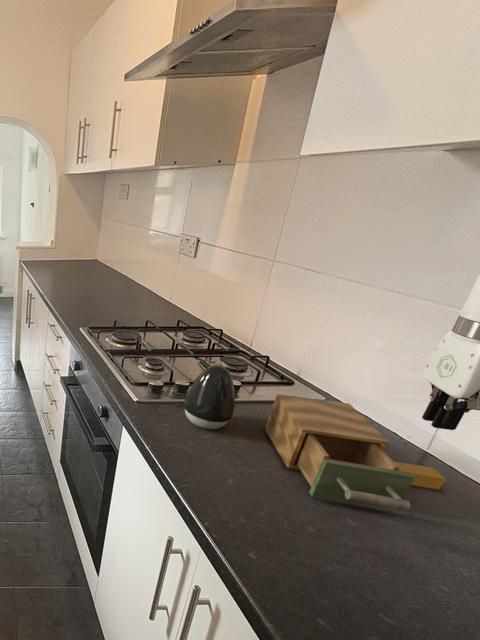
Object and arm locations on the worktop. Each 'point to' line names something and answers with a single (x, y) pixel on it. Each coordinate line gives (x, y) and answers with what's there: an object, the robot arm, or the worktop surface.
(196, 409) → the dark grey egg ornament
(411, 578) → the worktop surface
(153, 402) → the worktop surface
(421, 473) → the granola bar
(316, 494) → the drawer
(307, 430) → the cabinet
